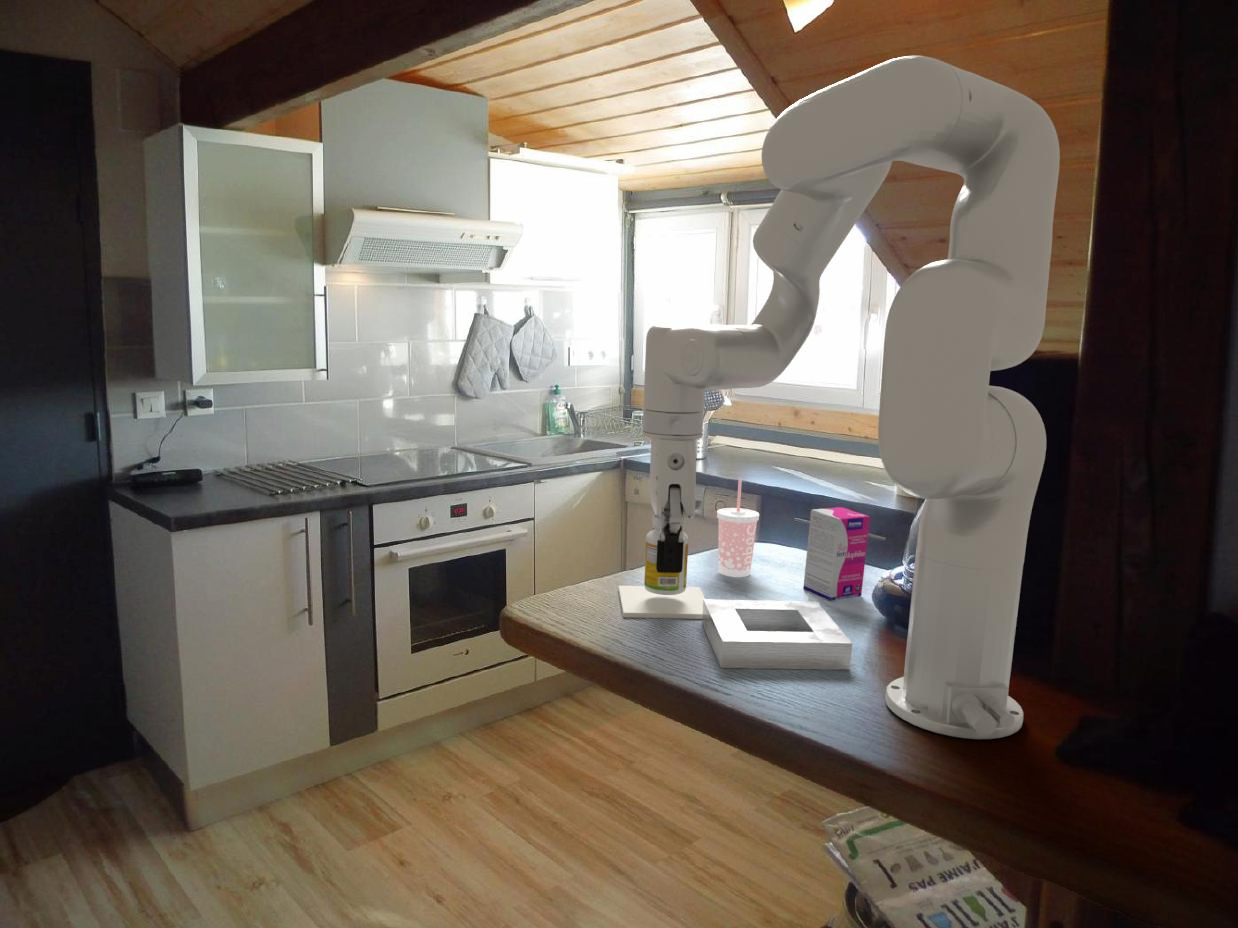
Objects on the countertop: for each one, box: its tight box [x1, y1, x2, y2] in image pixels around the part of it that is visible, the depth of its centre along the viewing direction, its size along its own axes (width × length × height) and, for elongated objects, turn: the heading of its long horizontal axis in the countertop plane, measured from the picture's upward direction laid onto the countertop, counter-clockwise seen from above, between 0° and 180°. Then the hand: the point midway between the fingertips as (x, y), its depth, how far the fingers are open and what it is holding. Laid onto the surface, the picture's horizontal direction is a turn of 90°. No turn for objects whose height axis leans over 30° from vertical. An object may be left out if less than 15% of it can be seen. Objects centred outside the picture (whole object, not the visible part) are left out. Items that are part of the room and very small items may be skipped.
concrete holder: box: [701, 598, 853, 671], centre depth 104 cm, size 14×14×3 cm
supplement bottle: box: [643, 513, 689, 595], centre depth 116 cm, size 5×5×10 cm
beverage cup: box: [716, 477, 760, 578], centre depth 132 cm, size 6×6×14 cm
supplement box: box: [802, 506, 871, 602], centre depth 124 cm, size 6×6×12 cm
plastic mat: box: [618, 585, 706, 620], centre depth 118 cm, size 11×11×1 cm
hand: (666, 563), depth 117 cm, fingers closed on supplement bottle, 5 cm apart
